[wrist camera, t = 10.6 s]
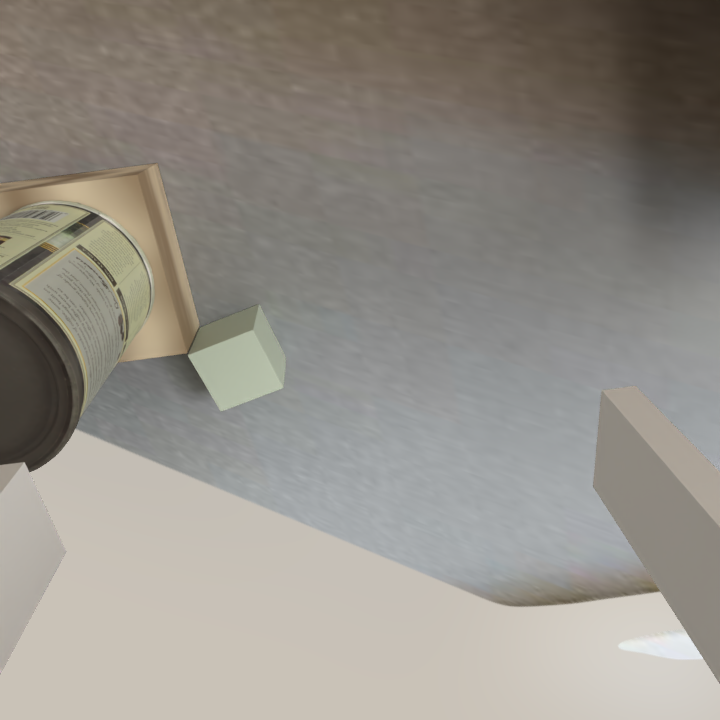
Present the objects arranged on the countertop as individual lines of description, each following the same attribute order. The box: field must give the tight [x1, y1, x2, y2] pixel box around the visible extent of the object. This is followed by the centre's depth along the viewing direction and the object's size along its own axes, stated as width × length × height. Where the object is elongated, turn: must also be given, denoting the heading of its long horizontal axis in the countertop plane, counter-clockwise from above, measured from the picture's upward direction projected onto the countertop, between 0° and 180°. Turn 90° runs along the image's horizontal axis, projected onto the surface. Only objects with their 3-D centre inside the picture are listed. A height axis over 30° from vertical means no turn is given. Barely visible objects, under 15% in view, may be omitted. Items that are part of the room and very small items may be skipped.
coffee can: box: [0, 200, 155, 472], centre depth 31 cm, size 10×10×14 cm
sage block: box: [188, 304, 286, 411], centre depth 43 cm, size 5×5×5 cm
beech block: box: [0, 163, 200, 363], centre depth 39 cm, size 12×12×5 cm
